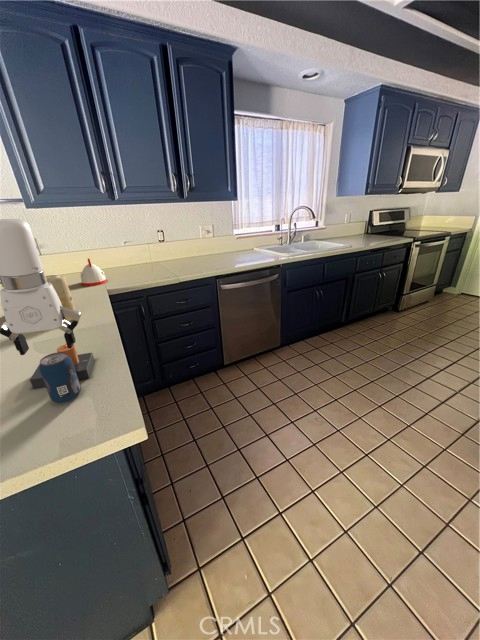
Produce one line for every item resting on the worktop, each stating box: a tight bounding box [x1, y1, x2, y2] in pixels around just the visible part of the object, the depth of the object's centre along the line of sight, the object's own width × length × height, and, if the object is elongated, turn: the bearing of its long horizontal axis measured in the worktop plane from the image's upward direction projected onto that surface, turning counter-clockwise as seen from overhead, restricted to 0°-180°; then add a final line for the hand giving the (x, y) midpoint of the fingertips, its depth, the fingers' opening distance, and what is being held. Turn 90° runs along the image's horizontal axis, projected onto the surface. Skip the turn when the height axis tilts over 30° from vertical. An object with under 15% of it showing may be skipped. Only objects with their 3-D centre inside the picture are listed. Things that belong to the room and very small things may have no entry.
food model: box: [45, 274, 76, 323], centre depth 110 cm, size 10×7×20 cm
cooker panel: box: [29, 352, 95, 389], centre depth 79 cm, size 14×10×3 cm
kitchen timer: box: [80, 258, 107, 287], centre depth 165 cm, size 14×14×15 cm
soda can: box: [39, 351, 82, 405], centre depth 68 cm, size 7×7×12 cm
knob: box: [56, 343, 79, 366], centre depth 78 cm, size 4×4×6 cm
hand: (48, 348), depth 64 cm, fingers open, 9 cm apart
